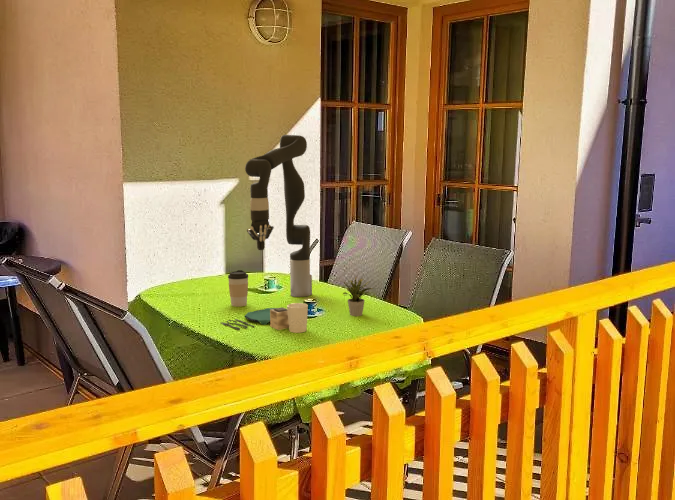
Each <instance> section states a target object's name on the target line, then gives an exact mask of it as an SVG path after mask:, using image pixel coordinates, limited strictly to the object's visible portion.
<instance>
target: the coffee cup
mask: <svg viewBox="0 0 675 500" xmlns="http://www.w3.org/2000/svg"><path fill="white" fill-rule="evenodd" d="M227 279H228V290H229V297H230V306H232V307H244V306H247V305H248V292H249V274H248V273H247V272H246V271H244V270H243V269H242V270H241V269H238V270H236V271H230V273H229V274H228V275H227Z"/></svg>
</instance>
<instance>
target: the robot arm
mask: <svg viewBox="0 0 675 500" xmlns="http://www.w3.org/2000/svg"><path fill="white" fill-rule="evenodd" d="M307 148H308V142H307V139H306V137H304V136H303V135H298V134H283V135H282V136H280V140H279V147H278V148H277V147H276V148H274V149H272V150H269V151H267V152H266V153H264V154H262V155H259V156H256V157H253V158H250V159H248V161H246V164H245V166H244V170H245V171H244V172H245V173H246V175H247V176H249V177H252V178H259V179H258V182H253V183H251V184H250V187H249V188H250V207H249V209H250V220H251V224H250V227H249V228H247V229H246V232H247V234H248V235H249V236H250V237H251V239H252V240H253V241H256V246H257V247H256V248H257V250H258V251H264V250H265V246H266V245H265V244H266V243H265V242H266V240H268V239H269V237H270V236H271V234H272V232H273V230H274V229H275V228H274V225H271V224H270V222H269V219H270V206H269V192H268V187H269V183H270V178H271V175H272V170H274V169H275V168H277V167H278V166H279V165H281V167H282V175H283V176H282V177H283V192H284V203H285V219H286V220H285V227H286V228H285V236H286V241H287V244H289V245H292V246H293V245H296V246H298V245H299V246H301V245H302V246H301V247H300V248H299V249H298V250H294V251H292V252H291V253H289V268H290V270H289V271H290V273H289V274H290V277H289V278H290V296H291V297H295V298H296V297H298V298H302V297H303V298H305V297H308V296H309V297H310V296H311V295H312V296H313V277H312V274H311V261H310V260H311V256H310V255H311V254H310V253H311V251H310V249H311V245H310V244H311V229H310V226H309V225H307V224H295V223H294V220H295V217H296V214H297V213H298V211H299V210H300V208H301V206H302V205H303V203H304V201H305V198H306V193H305V183H304V180H303V179H302V177H301V175H300V173H299V172H298V170H297V169H296V166H295V165H294V161H293V159H295V158H298V157H302V156H303V155H304V154H305V153H306V151H307Z"/></svg>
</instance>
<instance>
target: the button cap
mask: <svg viewBox="0 0 675 500" xmlns="http://www.w3.org/2000/svg"><path fill="white" fill-rule="evenodd" d="M274 308H275V309H274V311H277V312H283V311H287V308H286V307H282V306H281V307H274Z"/></svg>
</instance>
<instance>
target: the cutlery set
mask: <svg viewBox="0 0 675 500" xmlns="http://www.w3.org/2000/svg"><path fill="white" fill-rule="evenodd" d="M275 308H276V307H268V308H264V309H258V310H257V309H256V310H254V311H248V312H246V314H245V315H244V318H245V319H246V320H248V321H251V322H256V323H257V322H258V323H260V324H261V325H267V324H268V323H270V310H272V309H275ZM228 321H230V322H228ZM231 321H233V322H231ZM237 322H239V323H237ZM229 323H230V324H229ZM241 323H242V324H241ZM220 324H221V325H223V326H226V325H227V327H229V328H231V329H235V330H236V331H240V330H241V328H240V327H243V328H245V329H248V327H249V326H250V327H252V328H255V325H253V324H251V323H248V322H247V321H243V320H241V319H238V318H235V319H234V320H233V319H229V320H227V321H226V322H223V321H222V322H220ZM234 325H235V326H234ZM236 325H237V326H236ZM238 326H240V327H238Z"/></svg>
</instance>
